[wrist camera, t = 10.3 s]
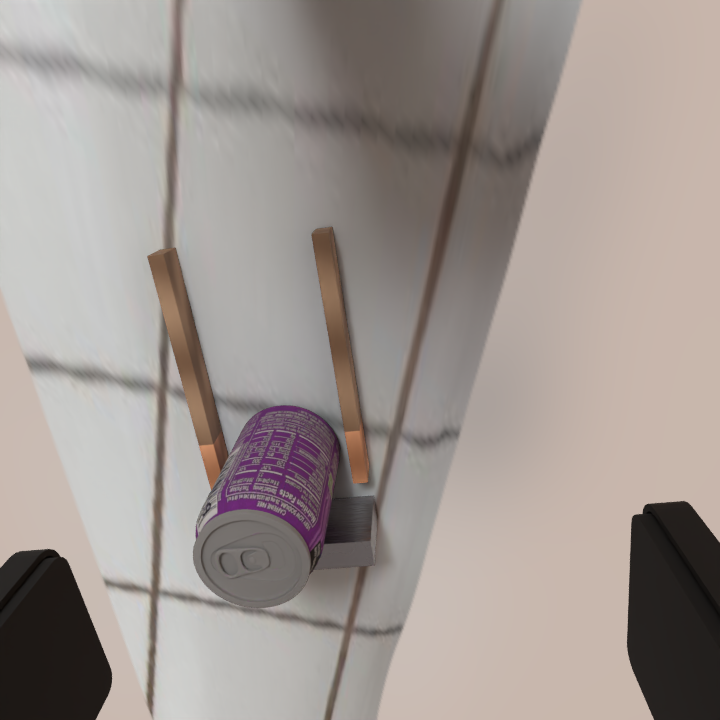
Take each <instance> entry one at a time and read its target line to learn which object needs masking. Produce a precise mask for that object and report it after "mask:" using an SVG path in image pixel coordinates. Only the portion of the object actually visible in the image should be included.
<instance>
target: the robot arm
mask: <svg viewBox="0 0 720 720" xmlns="http://www.w3.org/2000/svg"><path fill="white" fill-rule="evenodd" d="M627 633H628V634H627V648H628V655H629V660H630V663H631V666H632V669H633V672H634V674H635V676H636V678H637V681H638V683H639V686H640V688H641V690H642V693H643V695H644V697H645V700H646V702H647V704H648V707H649V709H650V711H651V714H652V716H653V718H654V720H720V542H719V541H718V540H717V539H716V537H715V536H714V535H713V533H712V532H711V531H710V530H709V528H708V527H707V526H706V524H705V523H704V522H703V520H702V519H701V518H700V517H699V515H698V514H697V513H696V511H695V510H694V509H693V507H692V506H691V505H690V504H689V503H688V502H685V501H680V502H667V503H655V504H647V505H645V507H644V509H643V514H639V515H634V516H633V518H632V524H631V552H630V578H629V606H628V632H627ZM111 684H112V672H111V668H110V665H109V663H108V661H107V658H106V656H105V653H104V650H103V648H102V646H101V643H100V640H99V638H98V635H97V633H96V631H95V628H94V626H93V623H92V620H91V618H90V615H89V613H88V611H87V608H86V606H85V603H84V601H83V598H82V596H81V593H80V590H79V588H78V586H77V583H76V580H75V578H74V576H73V573H72V570H71V568H70V566H69V563H68V562H67V560H66V559H65V558H63V557H60V556H59V554H58V553H57V552H56V551H55V550H51V549H45V550H31V551H20V552H18V553H15V554H14V555H12V556H11V557H10V558H9V559H8V560H7V561H6V562H5V563H4V565H3V566H2V567H1V568H0V720H96V718H97V716H98V714H99V712H100V710H101V708H102V706H103V704H104V702H105V700H106V698H107V696H108V694H109V691H110V688H111Z"/></svg>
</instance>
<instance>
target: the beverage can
mask: <svg viewBox="0 0 720 720" xmlns="http://www.w3.org/2000/svg"><path fill="white" fill-rule="evenodd" d="M339 459H340V448H339V443H338V440H337V437H336V435H335V433H334V432H333V430H332V429H331V427H330V426H329V425H328V424H327V423H326V422H325V421H324V420H323V419H322V418H321V417H319V416H318V415H317V414H315V413H313V412H311V411H309V410H307V409H304V408H301V407H296V406H287V405H283V406H274V407H270V408H267V409H265V410H262V411H260V412H259V413H257V414H256V415H254V416H253V417H252V418H251V419H250V420H249V421H248V422H247V423H246V425H245V426H244V428H243V430H242V432H241V434H240V436H239V438H238V440H237V442H236V443H235V445H234V447H233V449H232V451H231V453H230V455H229V457H228V459H227V461H226V463H225V465H224V467H223V469H222V471H221V473H220V475H219V476H218V478H217V480H216V482H215V484H214V486H213V488H212V490H211V492H210V494H209V496H208V498H207V500H206V502H205V504H204V506H203V508H202V510H201V511H200V514H199V516H198V519H197V523H196V542H195V545H194V549H193V560H194V565H195V568H196V571H197V573H198V575H199V577H200V578H201V580H202V581H203V583H204V584H205V585H206V586H207V587H208V588H209V589H210V590H211V591H212V592H214V593H215V594H216V595H218V596H219V597H221V598H223V599H225V600H227V601H229V602H231V603H234V604H237V605H240V606H245V607H251V608H266V607H272V606H277V605H280V604H283V603H285V602H287V601H289V600H290V599H292V598H293V597H295V596H296V595H297V594H298V593H299V592H300V591H301V590H302V589H303V587H304V586H305V584H306V582H307V580H308V577H309V575H310V574H311V572H312V571H313V570H314V569H315V567H316V566H317V564H318V562H319V560H320V557H321V555H322V551H323V546H324V540H325V535H326V529H327V524H328V519H329V513H330V508H331V502H332V497H333V491H334V486H335V481H336V475H337V470H338V464H339Z"/></svg>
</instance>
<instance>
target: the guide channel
mask: <svg viewBox="0 0 720 720" xmlns="http://www.w3.org/2000/svg"><path fill="white" fill-rule="evenodd" d="M312 241H313V247H314V253H315V259H316V265H317V270H318V276H319V282H320V288H321V294H322V300H323V306H324V312H325V318H326V324H327V330H328V336H329V342H330V348H331V354H332V360H333V366H334V371H335V377H336V383H337V389H338V395H339V401H340V407H341V413H342V419H343V425H344V431H345V437H346V443H347V449H348V455H349V461H350V467H351V472H352V478H353V483H365V482H368V475H369V462H368V455H367V449H366V442H365V436H364V429H363V423H362V416H361V410H360V404H359V397H358V391H357V384H356V378H355V371H354V365H353V358H352V352H351V345H350V339H349V332H348V326H347V320H346V313H345V307H344V300H343V294H342V287H341V281H340V274H339V268H338V261H337V255H336V249H335V242H334V236H333V229H332V227H328V228H320V229H316V230H315V231H314V232H313V233H312ZM147 257H148V260H149V264H150V268H151V271H152V275H153V279H154V282H155V286H156V290H157V293H158V297H159V301H160V304H161V308H162V312H163V315H164V319H165V323H166V326H167V330H168V334H169V337H170V341H171V344H172V348H173V352H174V355H175V359H176V363H177V366H178V370H179V374H180V377H181V381H182V385H183V388H184V392H185V396H186V399H187V403H188V407H189V410H190V414H191V418H192V421H193V425H194V429H195V432H196V436H197V440H198V443H199V447H200V451H201V454H202V458H203V462H204V465H205V469H206V473H207V476H208V480H209V484H210V487H211V490H212V488H213V486H214V484H215V482H216V480H217V478H218V476H219V475H220V473H221V471H222V469H223V467H224V465H225V463H226V461H227V459H228V453H227V449H226V445H225V441H224V437H223V433H222V429H221V425H220V421H219V417H218V414H217V410H216V406H215V402H214V398H213V394H212V390H211V386H210V382H209V378H208V374H207V370H206V366H205V362H204V359H203V355H202V351H201V347H200V343H199V339H198V335H197V331H196V327H195V323H194V319H193V315H192V311H191V307H190V304H189V300H188V296H187V292H186V288H185V284H184V280H183V276H182V272H181V268H180V264H179V260H178V256H177V252H176V248H170V249H162V250H159V251H157V252H155V253H153V254H151V255H149V256H147ZM376 533H377V513H376V507H375V500H374V496H365V497H353V498H341V499H332V502H331V508H330V513H329V519H328V524H327V529H326V535H325V540H324V546H323V551H322V555H321V557H320V560H319V562H318V564H317V566H316V567H315V569H314V570H316V569H331V568H346V567H360V566H375V551H376Z"/></svg>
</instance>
